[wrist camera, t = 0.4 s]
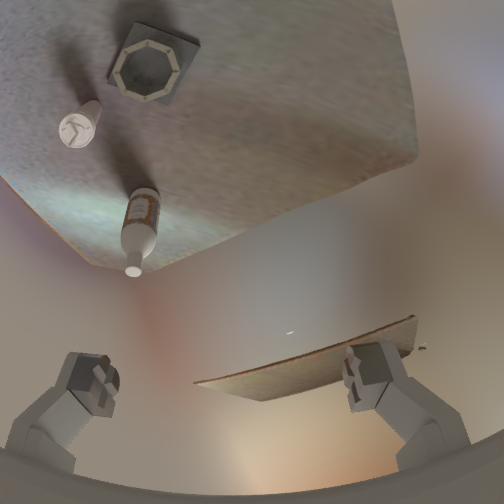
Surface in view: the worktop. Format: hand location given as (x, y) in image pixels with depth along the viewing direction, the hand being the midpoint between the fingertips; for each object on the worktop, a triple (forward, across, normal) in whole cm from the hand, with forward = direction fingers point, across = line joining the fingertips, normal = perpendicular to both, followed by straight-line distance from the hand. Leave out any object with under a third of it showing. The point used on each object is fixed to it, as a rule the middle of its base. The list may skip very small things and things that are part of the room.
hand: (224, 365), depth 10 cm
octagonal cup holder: (+48, +14, -11) cm, 51 cm away
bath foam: (+54, +21, +17) cm, 60 cm away
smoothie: (+48, +26, -5) cm, 55 cm away
